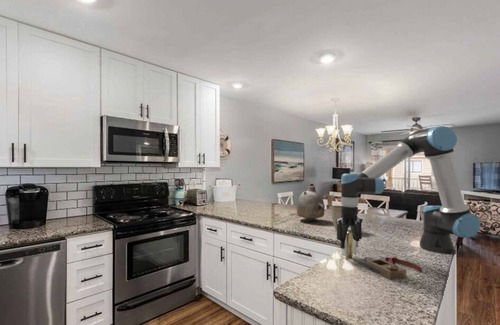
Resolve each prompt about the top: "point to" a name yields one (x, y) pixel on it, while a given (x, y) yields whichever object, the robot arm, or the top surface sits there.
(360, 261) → the chain end
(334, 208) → the plant pot
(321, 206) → the jug
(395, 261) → the pliers
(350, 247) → the brass pin
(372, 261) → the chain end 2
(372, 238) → the top surface
